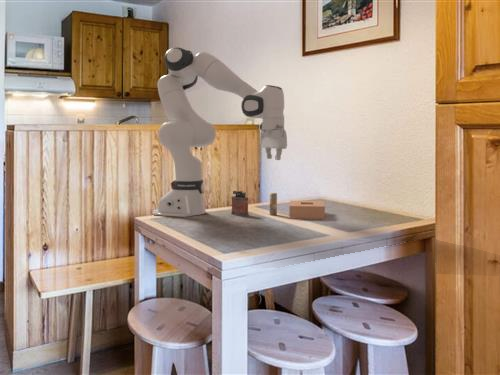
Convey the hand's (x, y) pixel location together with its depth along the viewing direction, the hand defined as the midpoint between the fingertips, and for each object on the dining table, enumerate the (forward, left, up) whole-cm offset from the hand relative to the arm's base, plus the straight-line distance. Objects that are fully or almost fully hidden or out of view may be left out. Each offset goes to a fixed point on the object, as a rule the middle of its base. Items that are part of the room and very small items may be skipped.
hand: (273, 159), depth 184 cm
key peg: (0, 0, -23) cm, 23 cm away
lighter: (-14, -1, -23) cm, 27 cm away
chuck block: (+14, 0, -23) cm, 27 cm away
